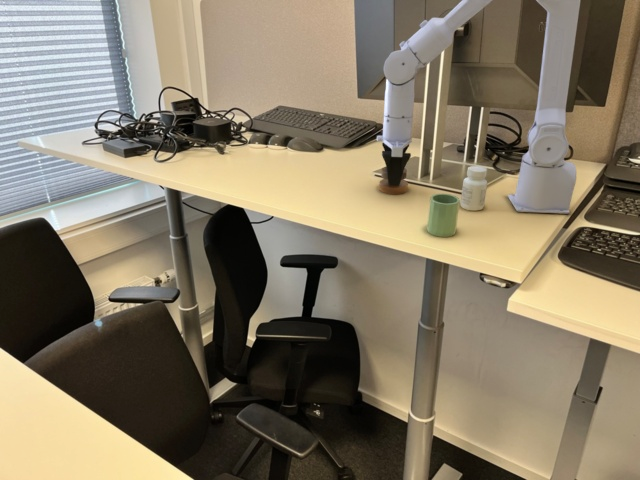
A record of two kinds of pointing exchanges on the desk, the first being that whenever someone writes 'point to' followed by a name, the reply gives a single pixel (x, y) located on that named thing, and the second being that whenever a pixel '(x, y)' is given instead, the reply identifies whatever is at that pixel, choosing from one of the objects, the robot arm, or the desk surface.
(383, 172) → the brown round lid
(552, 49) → the robot arm
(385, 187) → the teak chip
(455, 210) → the plastic cup
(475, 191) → the pill bottle
